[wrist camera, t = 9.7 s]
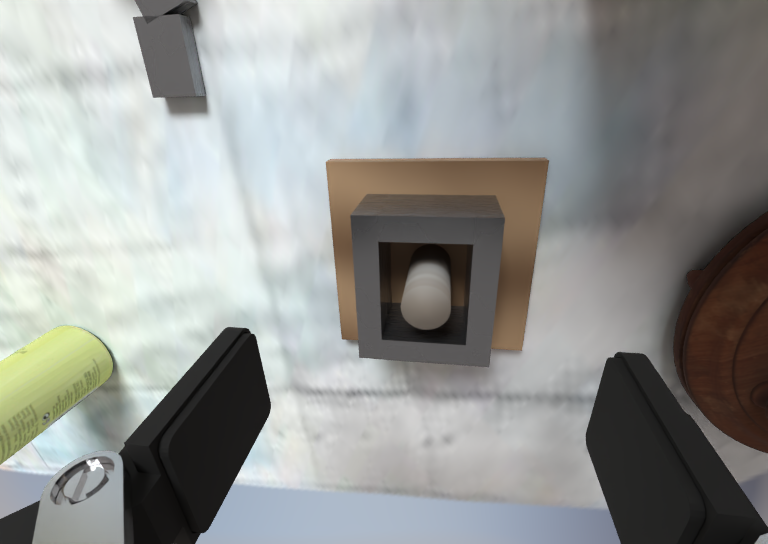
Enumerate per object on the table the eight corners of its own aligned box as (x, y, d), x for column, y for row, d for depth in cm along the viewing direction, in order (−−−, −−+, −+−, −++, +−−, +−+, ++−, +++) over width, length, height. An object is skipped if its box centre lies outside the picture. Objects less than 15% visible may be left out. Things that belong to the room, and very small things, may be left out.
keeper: (330, 159, 19) (290, 183, 14) (545, 157, 18) (580, 184, 13) (345, 331, 23) (318, 394, 19) (519, 342, 22) (539, 413, 17)
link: (366, 193, 19) (350, 215, 16) (495, 195, 18) (505, 218, 15) (372, 318, 22) (359, 357, 19) (483, 325, 21) (489, 367, 18)
